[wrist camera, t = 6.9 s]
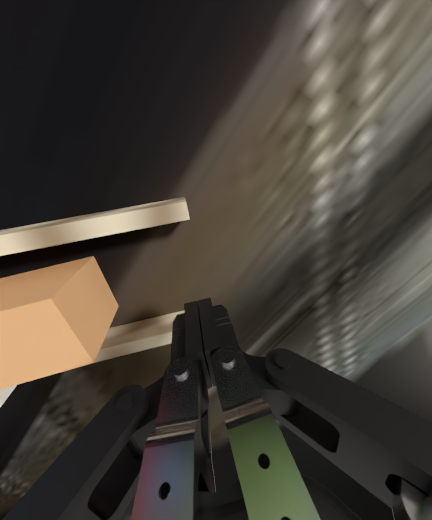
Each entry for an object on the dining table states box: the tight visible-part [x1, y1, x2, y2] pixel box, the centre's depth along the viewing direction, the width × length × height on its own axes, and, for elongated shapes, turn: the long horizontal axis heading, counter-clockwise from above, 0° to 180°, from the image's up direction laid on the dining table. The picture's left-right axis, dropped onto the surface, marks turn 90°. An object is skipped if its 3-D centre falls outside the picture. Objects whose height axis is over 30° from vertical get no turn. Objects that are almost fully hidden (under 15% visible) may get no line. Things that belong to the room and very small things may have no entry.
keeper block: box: [0, 256, 119, 389], centre depth 14 cm, size 8×5×6 cm, turn 101°
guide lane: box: [0, 197, 190, 363], centre depth 16 cm, size 16×11×2 cm
